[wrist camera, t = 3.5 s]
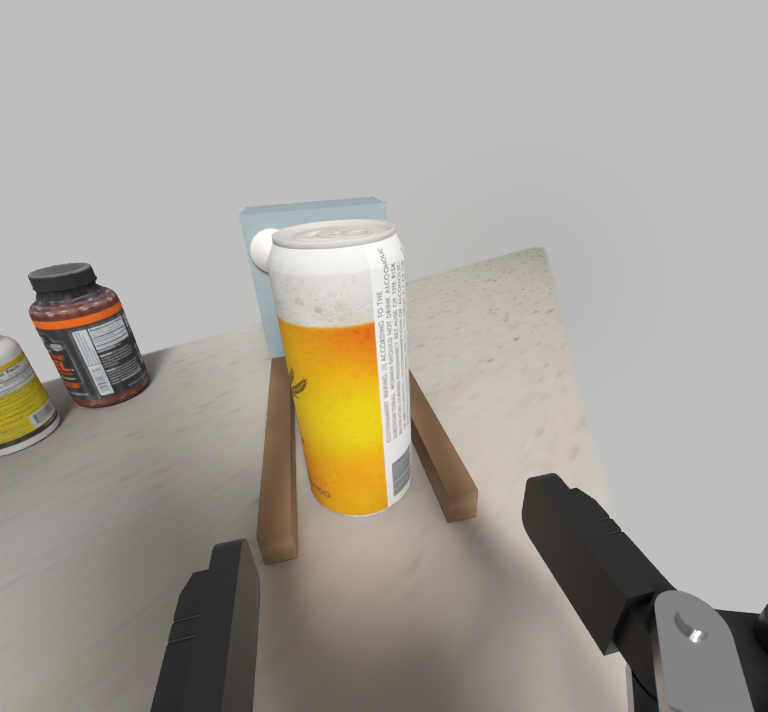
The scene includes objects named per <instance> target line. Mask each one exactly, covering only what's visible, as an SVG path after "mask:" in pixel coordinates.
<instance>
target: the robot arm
mask: <svg viewBox="0 0 768 712" xmlns="http://www.w3.org/2000/svg"><path fill="white" fill-rule="evenodd" d="M522 521H523V525H524V528H525V530H526V533H527V535H528V536H529V538H530V539H531V541H532V543H533V544H534V546H535V547H536V549H537V551H538V552H539V554H540V555H541V557H542V558H543V560H544V562H545V563H546V565H547V566H548V568H549V570H550V571H551V573H552V574H553V576H554V578H555V579H556V581H557V582H558V584H559V585H560V587H561V589H562V590H563V592H564V593H565V595H566V597H567V598H568V600H569V601H570V603H571V604H572V606H573V608H574V609H575V611H576V612H577V614H578V616H579V617H580V619H581V620H582V622H583V623H584V625H585V627H586V628H587V630H588V631H589V633H590V635H591V636H592V638H593V639H594V641H595V642H596V644H597V646H598V647H599V649H600V650H601V652H602V654H603V655H604V656H605V655H608V654H612V653H615V652H618V651H620V653H621V654H622V656H623V657H624V659H625V660H626V662H627V664H626V684H627V699H628V712H768V604H767V605H766V607H765V608H764V610H763V611H762V613H761V614H756V613H745V612H735V611H725V610H717V609H713V608H712V607H711V606H709V605H708V604H707V603H705V602H704V601H702V600H701V599H699V598H697V597H695V596H693V595H691V594H688V593H685V592H681V591H678V590H676V589H675V588H674V587H673V586H672V585H671V584H670V583H669V582H668V581H667V580H666V579H665V578H664V577H663V575H662V574H661V573H660V572H659V571H658V570H657V569H656V567H655V566H654V565H653V564H652V563H651V562H650V561H649V560H648V559H647V558H646V556H645V555H644V554H643V553H642V552H641V551H640V550H639V548H638V547H637V546H636V545H635V544H634V543H633V542H632V541H631V539H630V538H629V537H628V536H627V535H626V534H625V533H624V532H622V531H621V528H620V527H619V526H618V525H617V524H616V523H615V522H614V520H613V519H610V517H609V515H608V514H607V513H606V511H605V510H604V509H603V508H602V507H601V506H600V505H599V504H598V503H597V501H596V500H595V499H593V498H592V497H590V496H589V495H587V494H585V493H584V492H582V491H581V490H579V489H578V488H573V489H569V487H568V486H567V485H566V484H565V483H564V482H563V480H562V479H561V478H560V477H559V476H558V475H557V474H555V473H550V474H545V475H541V476H536V477H531V478H529V479H528V480H527V483H526V489H525V495H524V501H523V508H522ZM259 607H260V583H259V576H258V572H257V569H256V566H255V563H254V560H253V557H252V554H251V551H250V548H249V545H248V542H247V540H246V539H245V538H244V539H239V540H234V541H230V542H225V543H220V544H216V545H215V546H214V548H213V551H212V555H211V560H210V565H209V569H208V570H203V571H199V572H195V573H193V574H192V576H191V578H190V579H189V581H188V583H187V584H186V586H185V587H184V589H183V591H182V592H181V594H180V595H179V599H178V603H177V607H176V611H175V615H174V619H173V620H174V624H172V627H171V631H170V635H169V639H168V641H169V643H168V645H167V647H166V651H165V655H164V659H163V663H162V667H161V671H160V675H159V679H158V683H157V687H156V691H155V695H154V699H153V703H152V707H151V711H150V712H253V697H254V682H255V667H256V652H257V637H258V622H259Z"/></svg>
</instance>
